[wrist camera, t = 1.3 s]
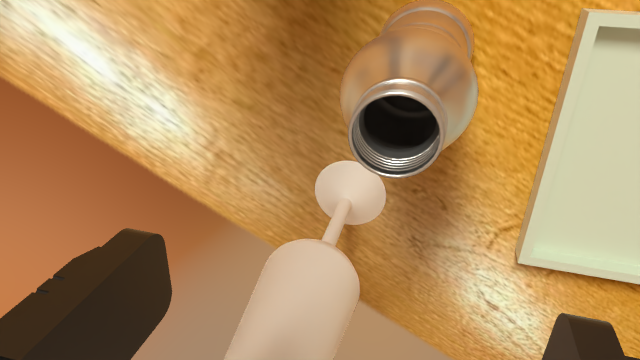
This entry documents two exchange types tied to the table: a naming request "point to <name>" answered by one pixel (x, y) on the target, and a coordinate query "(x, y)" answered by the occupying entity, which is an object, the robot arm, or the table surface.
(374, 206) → the champagne flute
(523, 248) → the tray
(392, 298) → the table surface
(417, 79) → the silver metal bottle
